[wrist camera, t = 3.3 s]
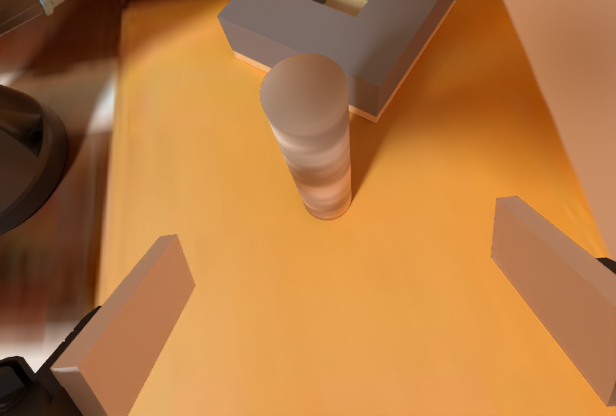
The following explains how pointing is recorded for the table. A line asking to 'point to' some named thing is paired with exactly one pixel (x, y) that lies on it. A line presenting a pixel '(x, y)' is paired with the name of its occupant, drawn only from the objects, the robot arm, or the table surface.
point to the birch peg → (312, 129)
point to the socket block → (339, 39)
